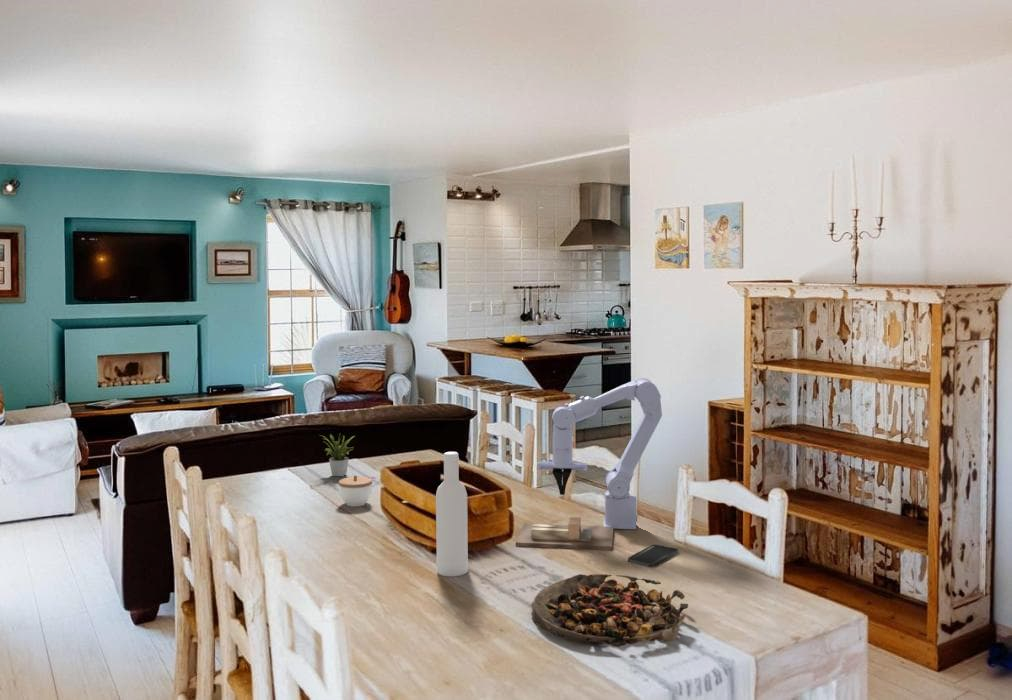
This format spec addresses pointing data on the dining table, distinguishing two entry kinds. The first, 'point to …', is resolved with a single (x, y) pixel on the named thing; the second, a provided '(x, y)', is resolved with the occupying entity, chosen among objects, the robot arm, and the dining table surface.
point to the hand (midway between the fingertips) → (562, 494)
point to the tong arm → (549, 526)
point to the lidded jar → (355, 490)
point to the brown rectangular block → (574, 529)
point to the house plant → (338, 456)
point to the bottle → (451, 521)
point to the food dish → (606, 611)
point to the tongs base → (596, 542)
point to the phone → (653, 555)
